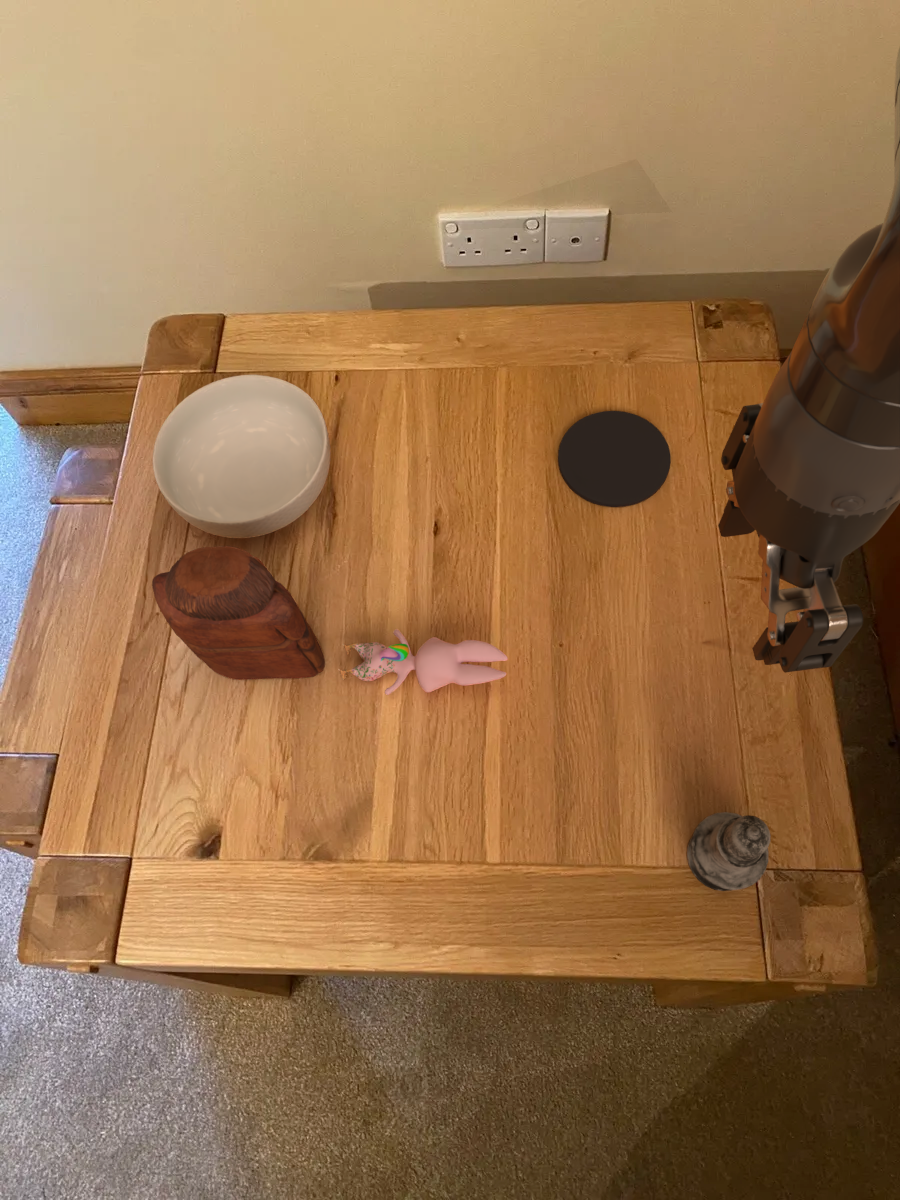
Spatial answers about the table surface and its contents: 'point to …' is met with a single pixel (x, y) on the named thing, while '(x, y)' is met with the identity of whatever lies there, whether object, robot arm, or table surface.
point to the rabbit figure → (427, 662)
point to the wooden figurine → (237, 616)
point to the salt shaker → (729, 851)
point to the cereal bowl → (242, 456)
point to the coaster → (614, 458)
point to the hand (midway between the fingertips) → (751, 590)
